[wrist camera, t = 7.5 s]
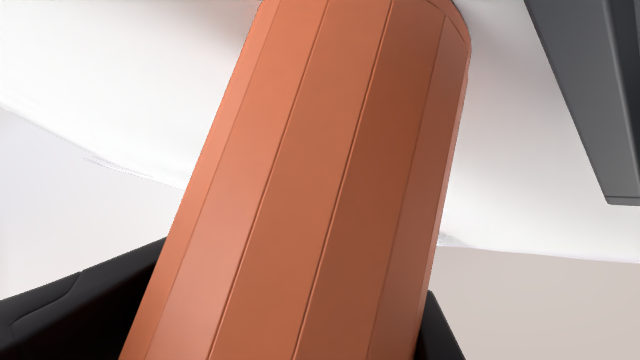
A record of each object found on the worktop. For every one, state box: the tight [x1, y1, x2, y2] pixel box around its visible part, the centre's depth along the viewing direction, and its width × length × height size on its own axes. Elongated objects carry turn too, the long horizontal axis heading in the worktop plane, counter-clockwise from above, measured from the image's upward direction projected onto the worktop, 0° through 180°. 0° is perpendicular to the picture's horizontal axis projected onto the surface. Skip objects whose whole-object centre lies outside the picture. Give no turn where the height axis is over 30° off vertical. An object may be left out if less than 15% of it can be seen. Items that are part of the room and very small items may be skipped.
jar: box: [118, 0, 471, 360], centre depth 8 cm, size 6×6×12 cm
